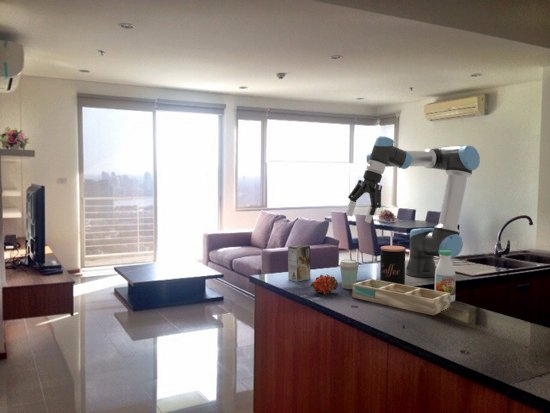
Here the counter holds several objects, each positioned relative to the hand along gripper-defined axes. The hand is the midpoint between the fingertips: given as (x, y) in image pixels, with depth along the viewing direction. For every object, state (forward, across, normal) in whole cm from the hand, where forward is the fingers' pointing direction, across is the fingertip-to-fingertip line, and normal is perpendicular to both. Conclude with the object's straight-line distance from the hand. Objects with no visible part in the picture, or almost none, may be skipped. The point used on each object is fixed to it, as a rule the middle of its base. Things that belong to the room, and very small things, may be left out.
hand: (357, 218), depth 205 cm
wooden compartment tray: (+26, +28, +11) cm, 39 cm away
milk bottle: (+20, +34, +28) cm, 48 cm away
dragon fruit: (+35, +2, -5) cm, 35 cm away
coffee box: (+37, -25, -1) cm, 45 cm away
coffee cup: (+30, -1, +9) cm, 32 cm away
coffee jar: (+24, +8, +25) cm, 35 cm away
